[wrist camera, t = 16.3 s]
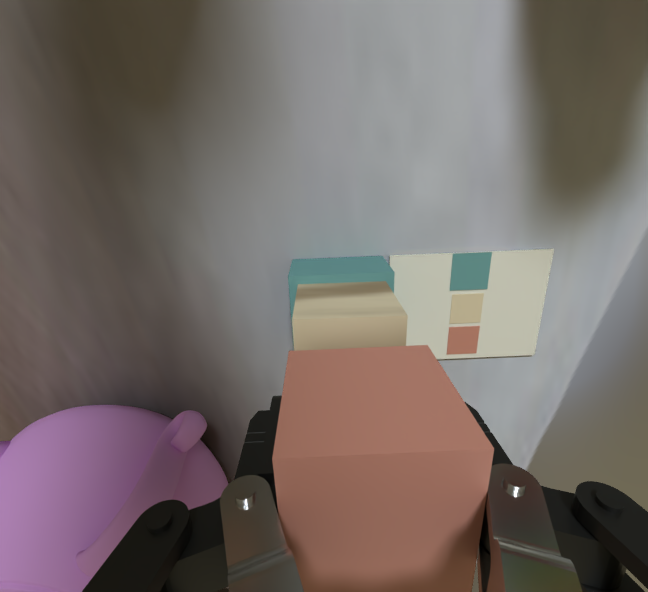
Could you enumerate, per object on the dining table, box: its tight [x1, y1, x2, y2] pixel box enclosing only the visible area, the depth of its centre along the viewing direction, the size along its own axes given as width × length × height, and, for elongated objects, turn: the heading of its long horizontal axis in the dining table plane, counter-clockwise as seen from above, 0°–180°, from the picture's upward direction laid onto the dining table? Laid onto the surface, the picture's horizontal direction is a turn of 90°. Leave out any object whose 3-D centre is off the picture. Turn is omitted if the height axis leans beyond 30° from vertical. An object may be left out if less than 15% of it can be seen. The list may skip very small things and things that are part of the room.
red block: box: [272, 345, 494, 592], centre depth 11 cm, size 5×5×5 cm
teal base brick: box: [288, 256, 395, 348], centre depth 22 cm, size 6×6×4 cm
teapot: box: [0, 405, 228, 592], centre depth 22 cm, size 22×22×14 cm
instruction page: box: [389, 249, 554, 359], centre depth 25 cm, size 8×11×1 cm
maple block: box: [292, 281, 408, 351], centre depth 18 cm, size 5×5×5 cm
